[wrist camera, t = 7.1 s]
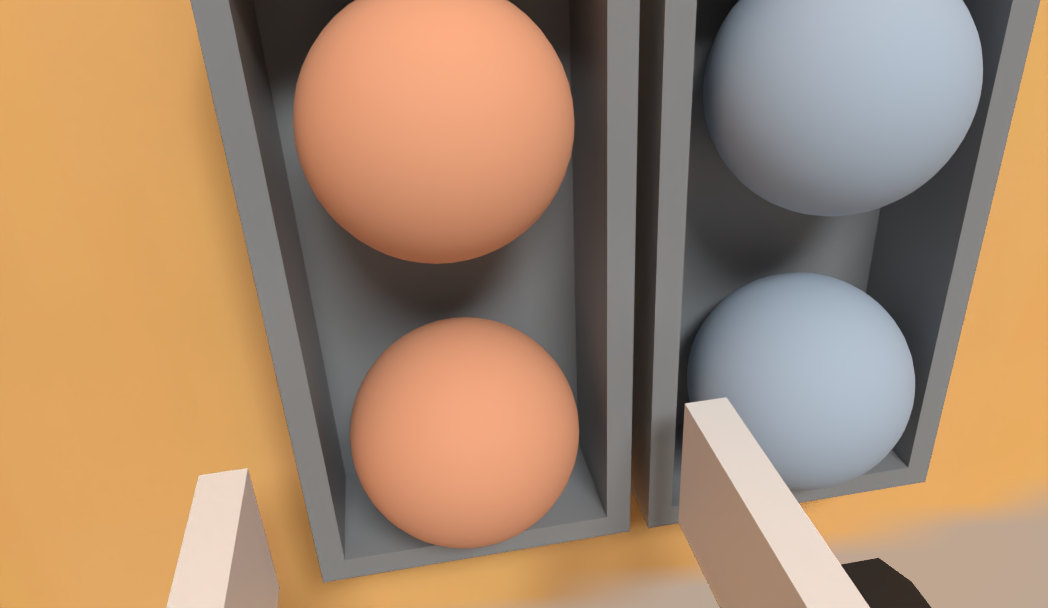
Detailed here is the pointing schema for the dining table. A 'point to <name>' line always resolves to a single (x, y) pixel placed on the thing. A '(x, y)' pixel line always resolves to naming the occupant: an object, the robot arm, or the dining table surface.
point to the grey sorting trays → (585, 259)
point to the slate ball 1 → (841, 98)
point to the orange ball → (464, 432)
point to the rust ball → (433, 125)
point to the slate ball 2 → (807, 374)
